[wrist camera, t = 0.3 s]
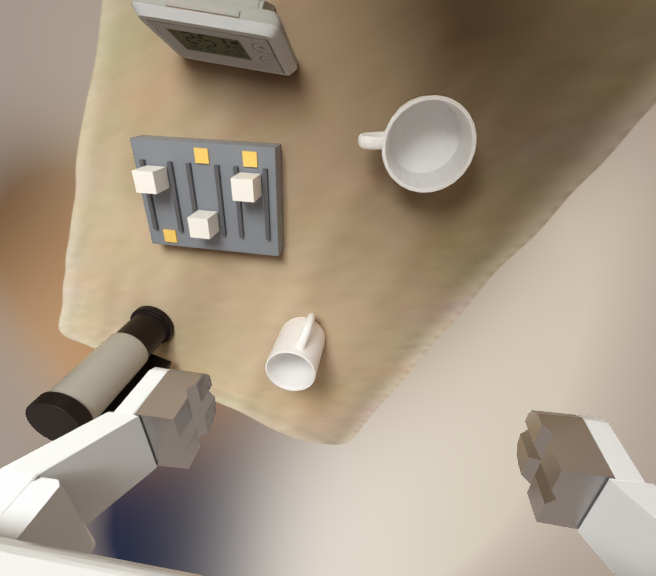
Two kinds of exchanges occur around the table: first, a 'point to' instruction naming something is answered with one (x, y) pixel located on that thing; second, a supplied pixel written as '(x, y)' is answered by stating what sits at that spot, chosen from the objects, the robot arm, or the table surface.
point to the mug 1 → (296, 354)
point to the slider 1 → (151, 179)
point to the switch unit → (213, 192)
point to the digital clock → (222, 32)
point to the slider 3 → (246, 187)
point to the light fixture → (103, 375)
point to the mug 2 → (426, 143)
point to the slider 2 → (203, 224)
